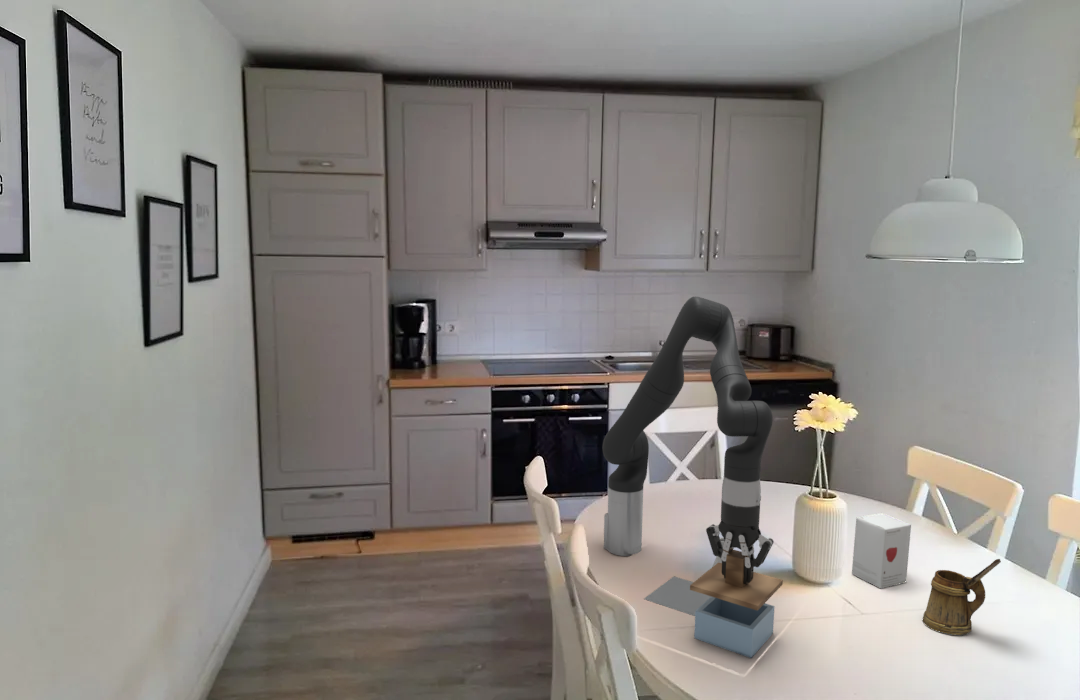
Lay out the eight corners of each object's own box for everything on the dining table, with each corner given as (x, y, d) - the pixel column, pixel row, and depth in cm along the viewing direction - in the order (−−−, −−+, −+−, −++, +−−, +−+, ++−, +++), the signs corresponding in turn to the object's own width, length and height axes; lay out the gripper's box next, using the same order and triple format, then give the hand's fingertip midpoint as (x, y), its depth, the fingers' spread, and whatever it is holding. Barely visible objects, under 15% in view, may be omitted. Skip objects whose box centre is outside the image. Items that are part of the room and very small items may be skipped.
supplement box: (880, 589, 171) (885, 529, 170) (850, 574, 180) (854, 516, 178) (907, 583, 175) (912, 523, 173) (877, 568, 183) (881, 511, 181)
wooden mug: (984, 650, 145) (992, 565, 143) (915, 623, 156) (921, 543, 153) (1001, 636, 151) (1009, 554, 148) (933, 611, 161) (940, 533, 159)
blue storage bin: (694, 640, 148) (695, 610, 147) (718, 617, 157) (719, 589, 156) (751, 661, 141) (752, 629, 140) (772, 635, 150) (774, 606, 149)
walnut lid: (689, 589, 146) (691, 556, 145) (718, 566, 157) (719, 535, 156) (757, 610, 138) (759, 575, 137) (782, 584, 149) (784, 552, 148)
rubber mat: (643, 601, 164) (643, 598, 164) (673, 578, 176) (673, 576, 176) (705, 622, 155) (705, 619, 155) (732, 596, 167) (732, 594, 167)
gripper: (700, 496, 146) (696, 577, 149) (768, 511, 138) (764, 597, 140) (715, 487, 152) (712, 565, 154) (782, 501, 144) (777, 583, 146)
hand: (737, 580), depth 147 cm, fingers closed on walnut lid, 3 cm apart
